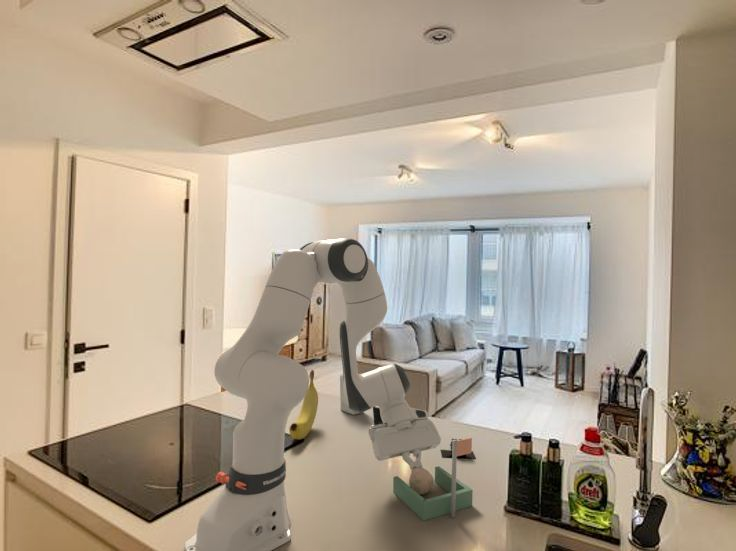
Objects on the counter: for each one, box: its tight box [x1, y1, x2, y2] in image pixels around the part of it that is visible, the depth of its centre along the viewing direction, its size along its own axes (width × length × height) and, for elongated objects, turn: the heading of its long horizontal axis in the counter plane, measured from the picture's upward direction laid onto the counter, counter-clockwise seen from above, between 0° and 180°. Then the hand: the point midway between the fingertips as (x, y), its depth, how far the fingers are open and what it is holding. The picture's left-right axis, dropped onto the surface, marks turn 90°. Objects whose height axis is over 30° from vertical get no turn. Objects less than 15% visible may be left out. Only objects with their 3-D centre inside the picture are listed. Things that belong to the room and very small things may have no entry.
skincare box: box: [339, 373, 360, 416], centre depth 173 cm, size 8×6×15 cm
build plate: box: [440, 438, 477, 460], centre depth 134 cm, size 13×8×5 cm, turn 86°
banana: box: [289, 369, 319, 440], centre depth 148 cm, size 23×6×20 cm, turn 171°
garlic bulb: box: [408, 466, 435, 496], centre depth 111 cm, size 7×6×8 cm
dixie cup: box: [372, 406, 383, 425], centre depth 149 cm, size 8×8×11 cm
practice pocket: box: [392, 437, 474, 521], centre depth 107 cm, size 16×14×18 cm
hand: (417, 469), depth 115 cm, fingers closed
